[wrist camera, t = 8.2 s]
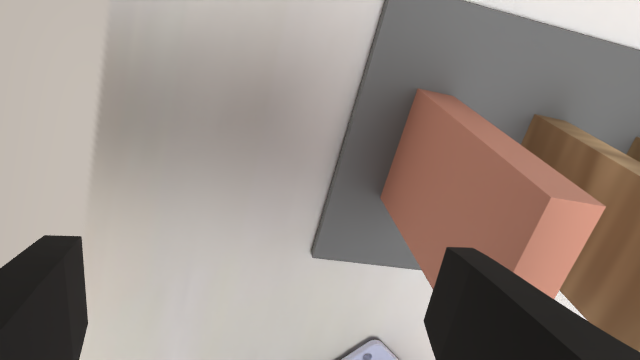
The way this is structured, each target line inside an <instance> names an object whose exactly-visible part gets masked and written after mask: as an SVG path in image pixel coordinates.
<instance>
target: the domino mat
mask: <svg viewBox="0 0 640 360" xmlns="http://www.w3.org/2000/svg"><path fill="white" fill-rule="evenodd" d="M418 88H419V89H423V90H428V91H432V92H437V93H441V94H446V95H451V96H454V97H455V98H457V99H458V100H460V101H461V102H462V103H464V104H465V105H466V106H468V107H469V108H471V109H472V110H473V111H475V112H476V113H477V114H479V115H480V116H482V117H483V118H484V119H486V120H487V121H489V122H490V123H491V124H493V125H494V126H495V127H497V128H498V129H500V130H501V131H502V132H504V133H505V134H506V135H508V136H509V137H511V138H512V139H513V140H515V141H516V142H518V143H519V144H520V145H521V143H522V141H523V138H524V136H525V134H526V132H527V130H528V127H529V125H530V123H531V121H532V119H533V117H534V114H537V115H542V116H546V117H551V118H555V119H560V120H564V121H567V122H569V123H570V124H572V125H574V126H576V127H578V128H579V129H581V130H583V131H585V132H587V133H588V134H590V135H592V136H594V137H595V138H597V139H599V140H601V141H603V142H604V143H606V144H608V145H610V146H612V147H613V148H615V149H617V150H619V151H621V152H622V153H624V154H627V152H628V150H629V149H630V147H631V145H632V143H633V141H634V140H635V138H636V137H640V50H636V49H633V48H629V47H626V46H622V45H619V44H615V43H612V42H608V41H604V40H601V39H597V38H594V37H590V36H587V35H583V34H580V33H576V32H573V31H569V30H565V29H562V28H558V27H555V26H551V25H548V24H544V23H541V22H537V21H533V20H530V19H526V18H523V17H519V16H516V15H512V14H509V13H505V12H501V11H498V10H494V9H491V8H487V7H484V6H480V5H477V4H473V3H470V2H466V1H462V0H385V4H384V7H383V10H382V14H381V17H380V21H379V24H378V27H377V31H376V34H375V38H374V41H373V44H372V48H371V51H370V55H369V58H368V61H367V65H366V68H365V72H364V75H363V78H362V82H361V85H360V89H359V92H358V95H357V99H356V102H355V105H354V109H353V112H352V116H351V119H350V122H349V126H348V129H347V133H346V136H345V139H344V143H343V146H342V150H341V153H340V156H339V160H338V163H337V167H336V170H335V173H334V177H333V180H332V184H331V187H330V190H329V194H328V197H327V201H326V204H325V207H324V211H323V214H322V218H321V221H320V224H319V228H318V231H317V234H316V238H315V241H314V245H313V248H312V251H311V254H312V258H319V259H328V260H337V261H345V262H354V263H363V264H372V265H380V266H389V267H398V268H407V269H415V270H422V269H421V268H420V266H419V264H418V262H417V261H416V259H415V257H414V256H413V254H412V252H411V250H410V249H409V247H408V245H407V243H406V242H405V240H404V238H403V236H402V235H401V233H400V231H399V230H398V228H397V226H396V224H395V223H394V221H393V219H392V217H391V216H390V214H389V212H388V211H387V209H386V207H385V205H384V204H383V202H382V200H381V198H380V197H381V194H382V191H383V188H384V185H385V182H386V179H387V177H388V174H389V171H390V168H391V165H392V162H393V159H394V156H395V153H396V150H397V147H398V144H399V142H400V139H401V136H402V133H403V130H404V127H405V124H406V121H407V118H408V115H409V112H410V110H411V107H412V104H413V101H414V98H415V95H416V92H417V89H418Z"/></svg>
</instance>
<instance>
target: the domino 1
mask: <svg viewBox="0 0 640 360" xmlns="http://www.w3.org/2000/svg"><path fill="white" fill-rule="evenodd" d="M380 198H381V200H382V202H383V204H384V205H385V207H386V209H387V211H388V212H389V214H390V216H391V217H392V219H393V221H394V223H395V224H396V226H397V228H398V230H399V231H400V233H401V235H402V236H403V238H404V240H405V242H406V243H407V245H408V247H409V249H410V250H411V252H412V254H413V256H414V257H415V259H416V261H417V262H418V264H419V266H420V268H421V269H422V271H423V273H424V275H425V276H426V278H427V280H428V281H429V283H430V285H431V287H432V288H433V289H434V286H435V283H436V280H437V276H438V273H439V270H440V267H441V264H442V260H443V257H444V254H445V251H446V248H447V247H466V248H474V249H476V250H478V251H480V252H482V253H483V254H485V255H487V256H489V257H490V258H492V259H493V260H495V261H497V262H498V263H500V264H501V265H503V266H504V267H506V268H507V269H509V270H510V271H512V272H513V273H515V274H516V275H518V276H519V277H521V278H522V279H524V280H525V281H527V282H528V283H530V284H531V285H533V286H534V287H536V288H537V289H539V290H540V291H542V292H543V293H545V294H546V295H548V296H549V297H551V298H553V299H554V298H555V297H556V295H557V293H558V291H559V290H560V288H561V286H562V284H563V282H564V281H565V279H566V277H567V275H568V274H569V272H570V270H571V268H572V266H573V265H574V263H575V261H576V259H577V258H578V256H579V254H580V252H581V251H582V249H583V247H584V245H585V243H586V242H587V240H588V238H589V236H590V235H591V233H592V231H593V229H594V227H595V226H596V224H597V222H598V220H599V219H600V217H601V215H602V213H603V211H604V210H605V208H606V206H605V205H603V204H602V203H600V202H599V201H598V200H596V199H595V198H593V197H592V196H591V195H589V194H588V193H587V192H585V191H584V190H582V189H581V188H580V187H578V186H577V185H576V184H574V183H573V182H571V181H570V180H569V179H567V178H566V177H564V176H563V175H562V174H560V173H559V172H558V171H556V170H555V169H553V168H552V167H551V166H549V165H548V164H547V163H545V162H544V161H542V160H541V159H540V158H538V157H537V156H535V155H534V154H533V153H531V152H530V151H529V150H527V149H526V148H524V147H523V146H522V145H520V144H519V143H518V142H516V141H515V140H513V139H512V138H511V137H509V136H508V135H506V134H505V133H504V132H502V131H501V130H500V129H498V128H497V127H495V126H494V125H493V124H491V123H490V122H489V121H487V120H486V119H484V118H483V117H482V116H480V115H479V114H477V113H476V112H475V111H473V110H472V109H471V108H469V107H468V106H466V105H465V104H464V103H462V102H461V101H460V100H458V99H457V98H455V97H454V96H451V95H446V94H441V93H437V92H432V91H428V90H423V89H419V88H418V89H417V92H416V95H415V98H414V101H413V104H412V107H411V110H410V112H409V115H408V118H407V121H406V124H405V127H404V130H403V133H402V136H401V139H400V142H399V144H398V147H397V150H396V153H395V156H394V159H393V162H392V165H391V168H390V171H389V174H388V177H387V179H386V182H385V185H384V188H383V191H382V194H381V197H380Z"/></svg>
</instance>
